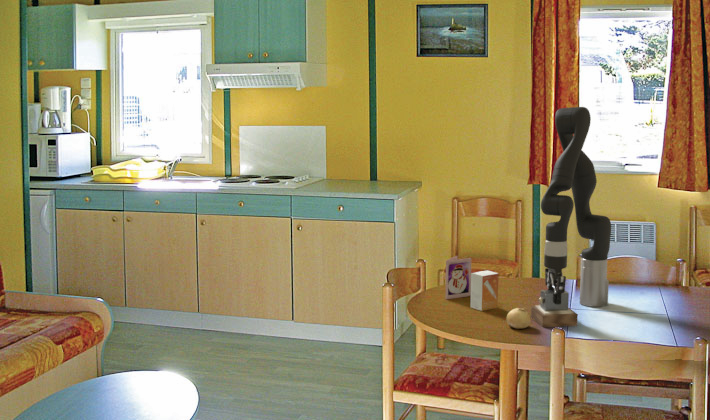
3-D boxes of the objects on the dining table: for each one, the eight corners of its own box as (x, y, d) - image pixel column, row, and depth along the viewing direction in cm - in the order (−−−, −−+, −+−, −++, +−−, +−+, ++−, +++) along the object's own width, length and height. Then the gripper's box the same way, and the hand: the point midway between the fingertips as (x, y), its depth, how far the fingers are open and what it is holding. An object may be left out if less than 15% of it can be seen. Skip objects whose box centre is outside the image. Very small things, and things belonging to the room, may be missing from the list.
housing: (562, 306, 277) (563, 289, 276) (568, 310, 272) (568, 293, 271) (537, 307, 276) (537, 290, 275) (541, 311, 271) (542, 293, 270)
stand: (564, 315, 281) (564, 303, 280) (577, 325, 269) (577, 312, 269) (531, 317, 280) (531, 304, 279) (542, 327, 268) (542, 314, 267)
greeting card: (446, 299, 304) (447, 261, 301) (436, 295, 310) (436, 257, 308) (472, 296, 308) (472, 258, 306) (461, 292, 315) (462, 254, 313)
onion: (507, 330, 265) (508, 309, 264) (504, 323, 273) (505, 303, 272) (532, 330, 264) (532, 310, 263) (528, 323, 272) (529, 303, 271)
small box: (481, 311, 288) (482, 276, 286) (470, 307, 293) (470, 272, 291) (498, 307, 292) (499, 273, 290) (486, 304, 297) (487, 269, 295)
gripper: (574, 257, 264) (572, 307, 267) (559, 248, 278) (557, 296, 281) (552, 258, 264) (550, 307, 266) (538, 249, 278) (536, 296, 280)
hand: (554, 301), depth 274 cm, fingers open, 5 cm apart
